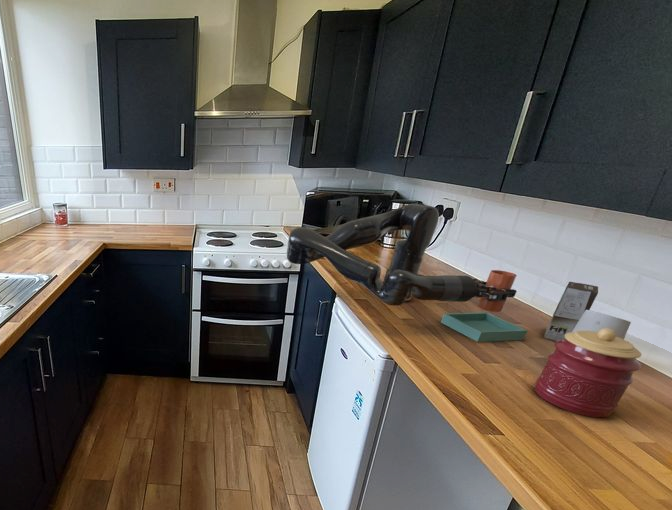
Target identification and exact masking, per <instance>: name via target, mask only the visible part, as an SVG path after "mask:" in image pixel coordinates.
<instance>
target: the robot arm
mask: <svg viewBox="0 0 672 510" xmlns="http://www.w3.org/2000/svg"><path fill="white" fill-rule="evenodd" d="M439 219H440V212H439V210H438V209H437V207H434V206H431V205H429V204H428V205H427V204H422V203H416V202H415V203H413V202H412V203H409V204H405V205H403V206H400V207H398V208H395V209H393V210H389V211H387V212H383V213H378V214H374V215H370V216H369V215H368V216H364V217H360V218H356V219H353V220H349V221H347V222H345V223H343V224H341V225H340V226H339V227H337V228H336V229H335V230H334V231H332V232H331V233H330V234H328V235H327V236H324V235H323V234H321V233H320V232H318V231H316V230H314V229H311V228H310V227H305V226H300V227H299V226H298V227H295V228H293V229H292V230H291V231H290V232H289V235H288V240H287V247H286V260H288V261H289V262H290V263H291V264H294V265H306V264H311V263H312V262H313V263H314V262H316V261H318V260H320V259H323V258H325V259H326V260H327V261H328V262H329V263H331V265H332V267H334V268H335V270H336V271H337V272H338V273H339V274H340V275H342V276H343V277H344V278H346V279H348V280H349V281H352V282H354V283H356V284H359V285H360V286H363V287H364V288H365V289H367V290H368V291H369V292H370V293H371V294H373V295H374V296H375V297H376V298H377V299H379V300H380V301H381V302H382V303H384V304H386V305H388V306H392V307H397V306H401V305H403V304H404V303H407V302H410V301H411V298H412V297H413V298H414V299H416V300H418V301H437V302H451V303H452V302H456V303H457V302H458V303H459V302H462V303H463V302H464V303H465V302H468V301H470V300H472V299H474V298H476V299H480V298H481V297H482V298H487V301H506V302H507V300H506V299H508V298H515V296H516V294H517V292H518V291H517V290H516V289H515V288H511V289H498V288H496V287H495V286H488V285H486V282H487V281H485V280H480V279H477V278H473V277H471V276H469V275H446V274H445V275H424V274H419V272H420V268H421V266H422V263H423V259H424V255H425V253H426V250H427V249H428V247H429V246H430V244H431V242H432V239H433V237H434V234H435V233H436V232H435V231H436V229H437V226H438V223H439ZM399 231H408V232H409V233H408V236H407V237H406V238H405V239H404V240H399V241H397V242H396V243H395V246H394V250H393V253H392V256H391V260H390V264H389V268H387V269H386V271H385V275H384V278H383V281H382V280H381V273H382V268H381V266H379V265H378V264H375V263H373V262H371V261H369V260H366V259H364V258H362V257H359V256H357V255H355V254H353V253H352V252H350V251H348V250H351V249H356V248H360V247H364V246H368V245H371V244H373V243H375V242H377V241H378V240H380V239H381V238H382V237H383V236H384V235H386V234H388V233H389V234H390V233H393V232H399ZM489 288H490V289H491V291H490V293H488V292H489Z"/></svg>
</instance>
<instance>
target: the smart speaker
mask: <svg viewBox="0 0 672 510" xmlns="http://www.w3.org/2000/svg"><path fill="white" fill-rule="evenodd" d="M631 323H632V321H629V320H626V319H623V318H621V317H616V316H612V315H610V314H606V313H602V312H599V311H595V310H591V309H590V310H585V312H584V313H583V315H582V317H581V318H580V320H579V321H578V323H577V325H576V326H575V328H574V329H573V331H572V332H577V331H582V330H584V331H594V332H598V331H599V330H601V329H604V328H609V329H612V330H614V331H615V332H616V337H618V338H621V339H623V340H625V337H626V335H627V333H628V330H629V328H630V326H631Z"/></svg>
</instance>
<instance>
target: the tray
mask: <svg viewBox="0 0 672 510" xmlns="http://www.w3.org/2000/svg"><path fill="white" fill-rule="evenodd" d="M440 324H443V325H445V326H446V327H449V328H450V329H452V330H454V331H456V332H458V333H460V334H461V335H464V336H466V337H468V338H469V339H471V340H473V341H475V342H476V343H481V342H483V343H485V342H486V343H487V342H501V341H502V342H505V341H506V342H507V341H524V340H525V337H526V335H527V333H528V329H525V328H523V327H521V326H519V325H516V324H514V323H512V322H510V321H507V320H505V319H503V318H501V317H498V316H496V315H495V314H492V313H489V312H488V311H483V312H451V313H450V312H449V313H443V315H442V318H441V320H440Z"/></svg>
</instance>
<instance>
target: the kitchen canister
mask: <svg viewBox="0 0 672 510" xmlns="http://www.w3.org/2000/svg"><path fill="white" fill-rule="evenodd" d="M565 338H566V339H565V340H559V341H555V342H554V347H555V350H554V351H553V353H550V354H549V355H548V356H547V361H546V363H545V366H544V367H543V369H542V371H541V373H540V374H539V376H538V377H537V379H536V381H535V383H534V384H535V386H534V391H535V393H536V394H537V395H538V396H539V397H540V398H541V399H543V400H545V401H546V402H548V403H550V404H552V405H554V406H555V407H558V408H560V409H563V410H566V411H568V412H571V413H574V414H578V415H582V416H587V417H592V418H606V417H609V416H610V415H612V413H613V412H615V411H616V410H617V408H618V406H619V402H620V401H621V399H622V397H623V396H624V394H625V393H626V391H627V389H628V388H629V386H630V385H631V384H632V383H633V381H634V379H633V374H634V372H636V371H637V372H638V371H639V370H641V368H642V364H641V363H640V362H639V360H638V359H639V358H641V356H642V352H641V351H640V350H639V349H637V348H636V347H635V346H634V345H633V344H632V343H631V342H629V341H627V340H625V339H624V340H623V339H621V338H618V337H616V332H615V331H614V330H612V329H609V328H604V329H601V330H599V331H598V332H594V331H584V330H582V331H577V332H570V333H566V334H565Z"/></svg>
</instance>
